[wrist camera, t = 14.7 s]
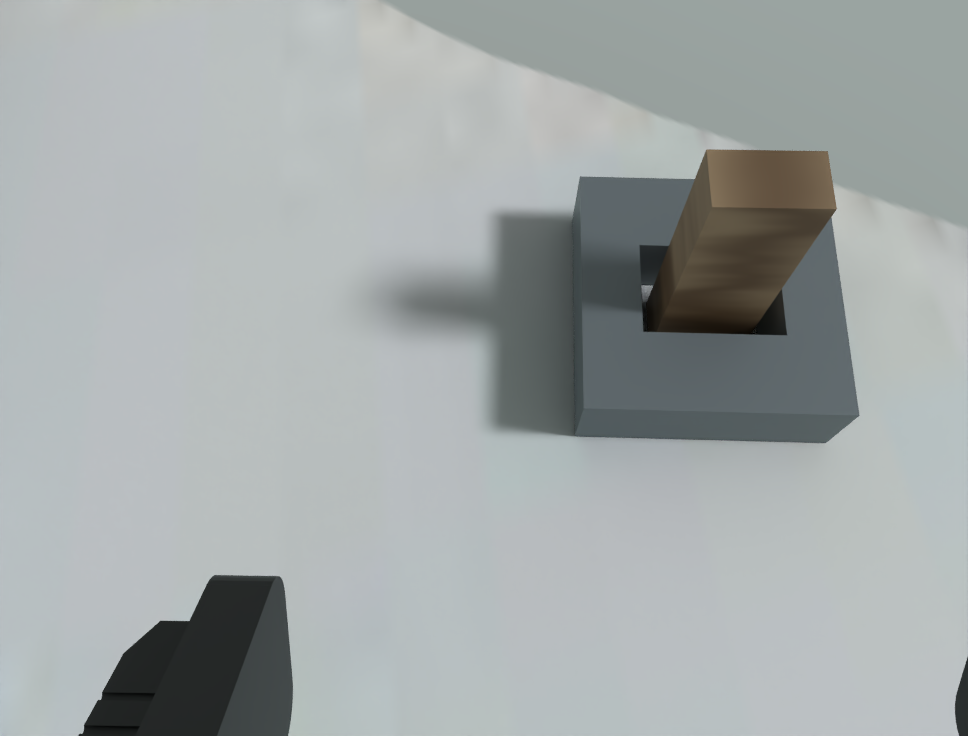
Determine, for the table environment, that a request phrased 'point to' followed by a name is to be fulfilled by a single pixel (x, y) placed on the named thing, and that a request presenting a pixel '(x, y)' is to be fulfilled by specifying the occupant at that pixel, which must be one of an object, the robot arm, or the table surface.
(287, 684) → the robot arm
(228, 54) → the table surface
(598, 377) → the grey square socket block
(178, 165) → the table surface
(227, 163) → the table surface
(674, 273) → the slat
